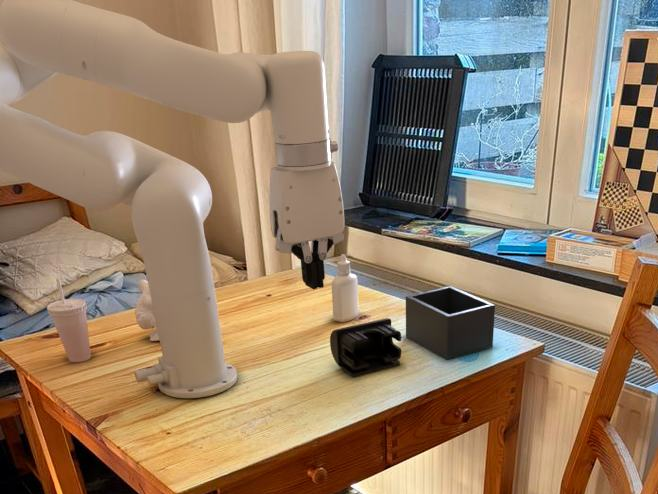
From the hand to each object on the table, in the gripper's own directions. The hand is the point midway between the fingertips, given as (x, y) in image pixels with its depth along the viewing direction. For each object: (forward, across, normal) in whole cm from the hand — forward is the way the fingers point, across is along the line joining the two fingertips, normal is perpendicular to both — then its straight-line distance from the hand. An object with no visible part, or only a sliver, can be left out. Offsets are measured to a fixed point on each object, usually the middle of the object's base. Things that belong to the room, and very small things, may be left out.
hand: (314, 286), depth 113 cm
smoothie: (+15, +32, -32) cm, 47 cm away
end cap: (+15, -8, 0) cm, 18 cm away
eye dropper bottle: (+15, -16, -22) cm, 31 cm away
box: (+15, -25, 0) cm, 29 cm away
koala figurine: (+15, +16, -33) cm, 40 cm away
